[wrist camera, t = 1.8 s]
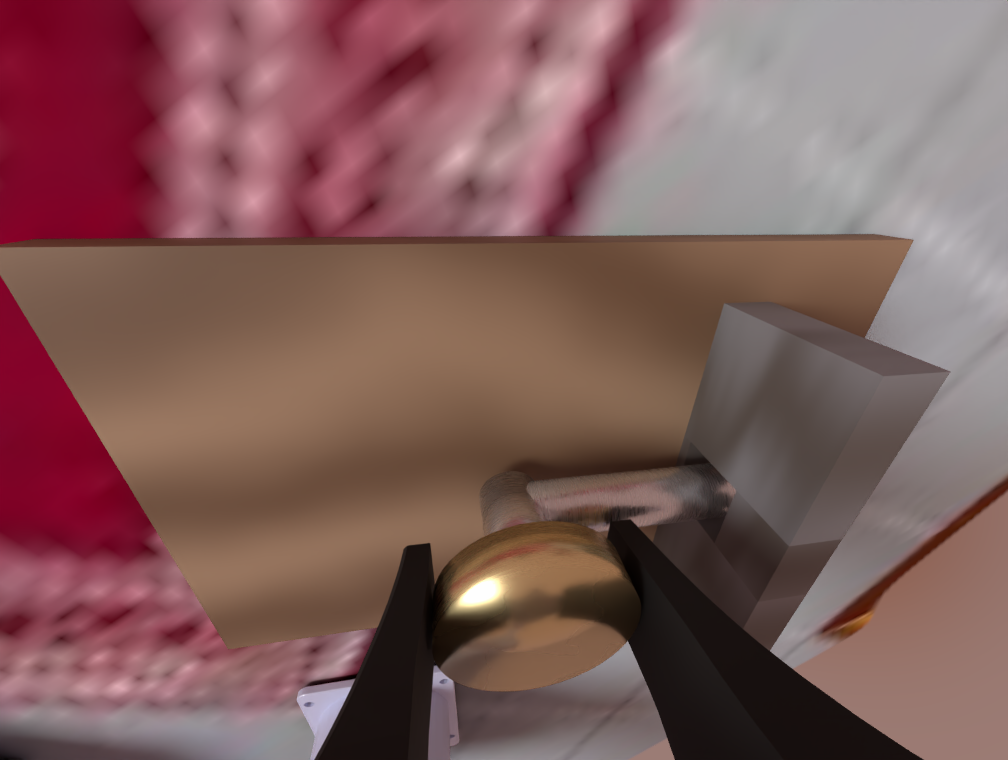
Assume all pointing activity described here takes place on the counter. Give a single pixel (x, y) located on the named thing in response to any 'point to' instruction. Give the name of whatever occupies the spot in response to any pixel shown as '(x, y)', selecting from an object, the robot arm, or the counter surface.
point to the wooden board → (473, 398)
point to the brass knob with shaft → (555, 573)
